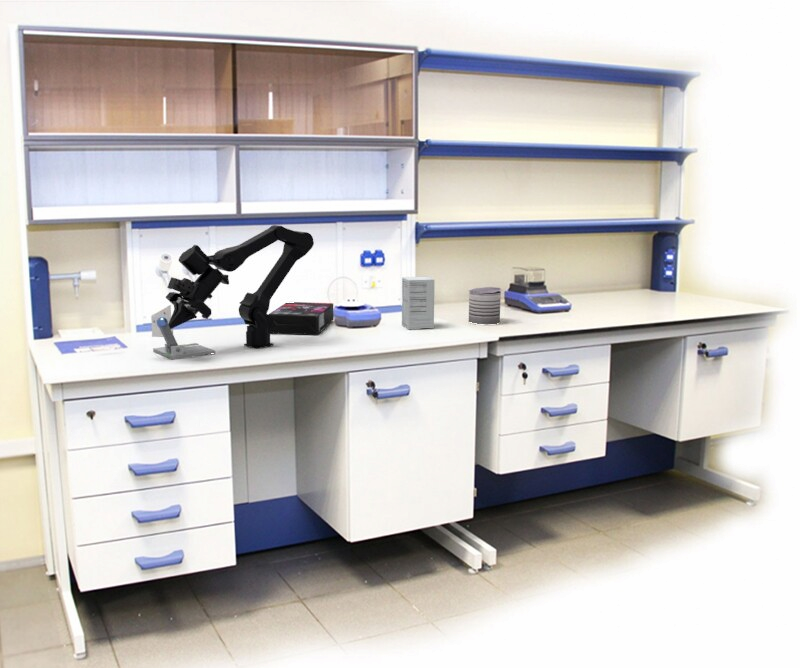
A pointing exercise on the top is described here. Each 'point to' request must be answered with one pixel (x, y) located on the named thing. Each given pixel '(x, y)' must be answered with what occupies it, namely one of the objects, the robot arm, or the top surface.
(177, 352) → the switch panel
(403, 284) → the supplement box
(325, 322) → the graphics card box
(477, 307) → the can
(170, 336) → the lever
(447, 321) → the top surface
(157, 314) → the grey plate
